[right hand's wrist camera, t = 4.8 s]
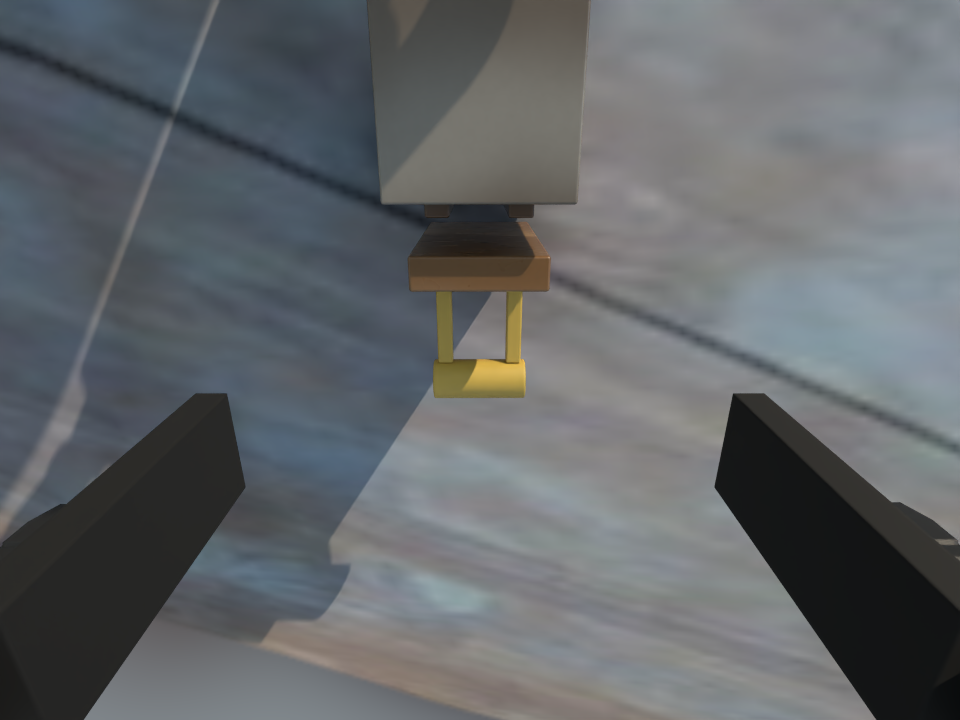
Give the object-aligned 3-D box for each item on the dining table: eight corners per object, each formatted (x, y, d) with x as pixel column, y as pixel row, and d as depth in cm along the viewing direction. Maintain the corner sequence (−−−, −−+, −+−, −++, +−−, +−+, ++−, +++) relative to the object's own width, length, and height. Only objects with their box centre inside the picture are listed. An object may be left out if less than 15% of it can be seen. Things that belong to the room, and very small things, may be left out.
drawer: (523, 349, 28) (542, 433, 20) (434, 350, 28) (416, 433, 20) (545, -317, 18) (598, -690, 10) (411, -317, 18) (357, -691, 10)
